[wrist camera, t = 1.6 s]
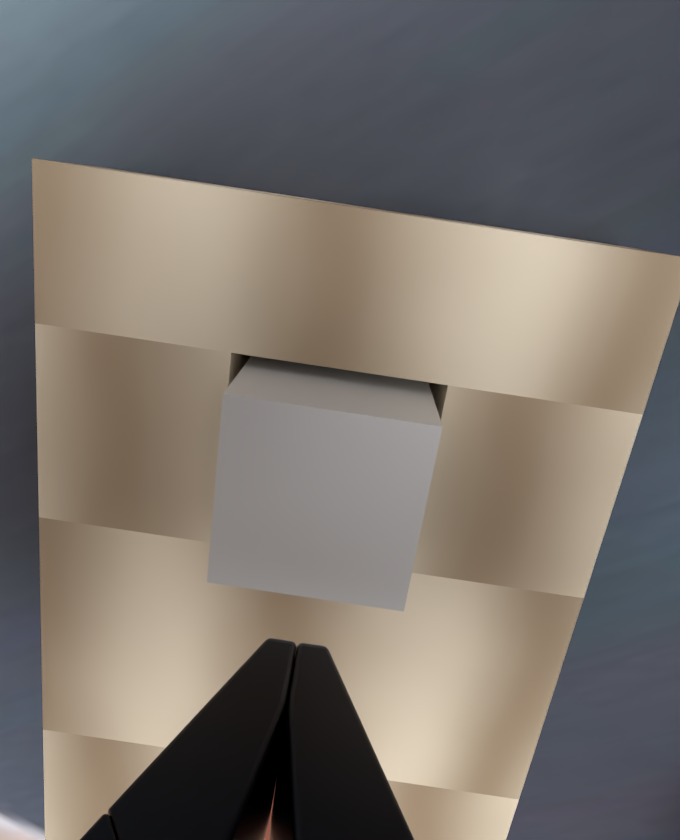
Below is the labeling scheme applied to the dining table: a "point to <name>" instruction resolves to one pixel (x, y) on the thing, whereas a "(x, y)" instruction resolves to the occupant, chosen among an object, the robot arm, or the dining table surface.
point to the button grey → (322, 482)
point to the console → (342, 349)
